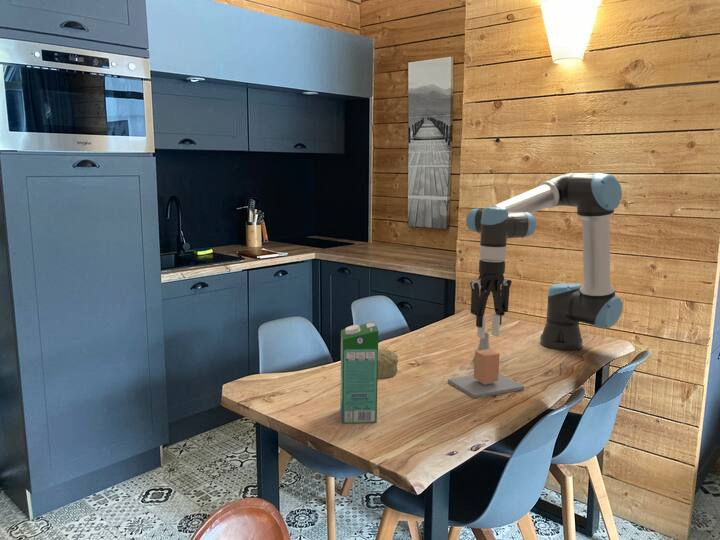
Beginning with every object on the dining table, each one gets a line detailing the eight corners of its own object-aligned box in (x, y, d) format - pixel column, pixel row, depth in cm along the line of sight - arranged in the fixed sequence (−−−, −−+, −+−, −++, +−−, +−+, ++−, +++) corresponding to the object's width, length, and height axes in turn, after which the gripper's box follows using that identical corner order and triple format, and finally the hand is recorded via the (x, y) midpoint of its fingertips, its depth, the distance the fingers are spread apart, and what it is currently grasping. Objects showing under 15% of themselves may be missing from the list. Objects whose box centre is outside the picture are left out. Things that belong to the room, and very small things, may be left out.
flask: (494, 365, 204) (495, 337, 202) (472, 364, 205) (473, 335, 203) (494, 359, 211) (495, 331, 209) (472, 357, 212) (474, 329, 210)
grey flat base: (495, 374, 195) (497, 344, 194) (523, 389, 183) (526, 357, 181) (447, 382, 188) (449, 351, 186) (474, 398, 176) (476, 365, 174)
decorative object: (399, 384, 195) (403, 354, 199) (390, 376, 187) (394, 345, 191) (372, 382, 199) (376, 353, 203) (362, 374, 190) (366, 344, 194)
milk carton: (340, 409, 167) (341, 321, 162) (373, 408, 167) (374, 320, 163) (342, 423, 158) (343, 330, 153) (376, 422, 158) (378, 330, 154)
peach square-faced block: (487, 375, 189) (489, 348, 187) (498, 381, 184) (499, 353, 182) (473, 377, 186) (475, 350, 185) (483, 383, 182) (485, 356, 180)
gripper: (508, 256, 185) (503, 330, 190) (459, 259, 178) (456, 336, 182) (524, 260, 179) (519, 336, 183) (474, 263, 171) (470, 343, 176)
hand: (488, 336), depth 183 cm, fingers open, 4 cm apart
